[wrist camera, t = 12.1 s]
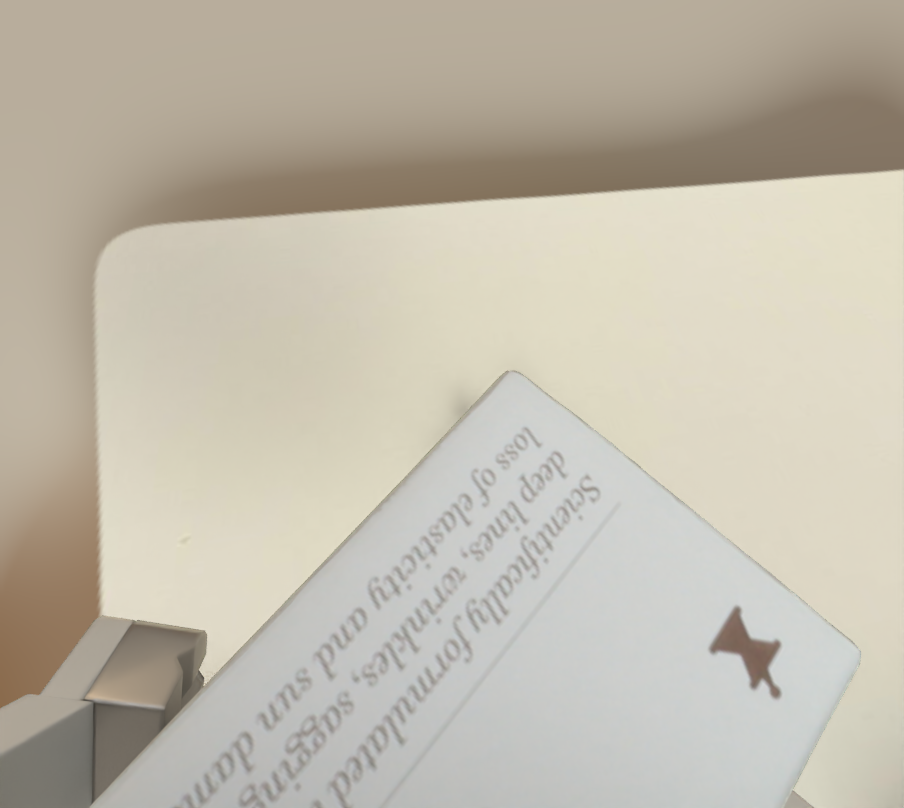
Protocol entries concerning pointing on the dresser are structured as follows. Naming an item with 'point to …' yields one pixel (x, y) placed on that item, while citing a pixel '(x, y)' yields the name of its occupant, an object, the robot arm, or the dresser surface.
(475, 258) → the dresser surface
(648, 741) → the cosmetic box
